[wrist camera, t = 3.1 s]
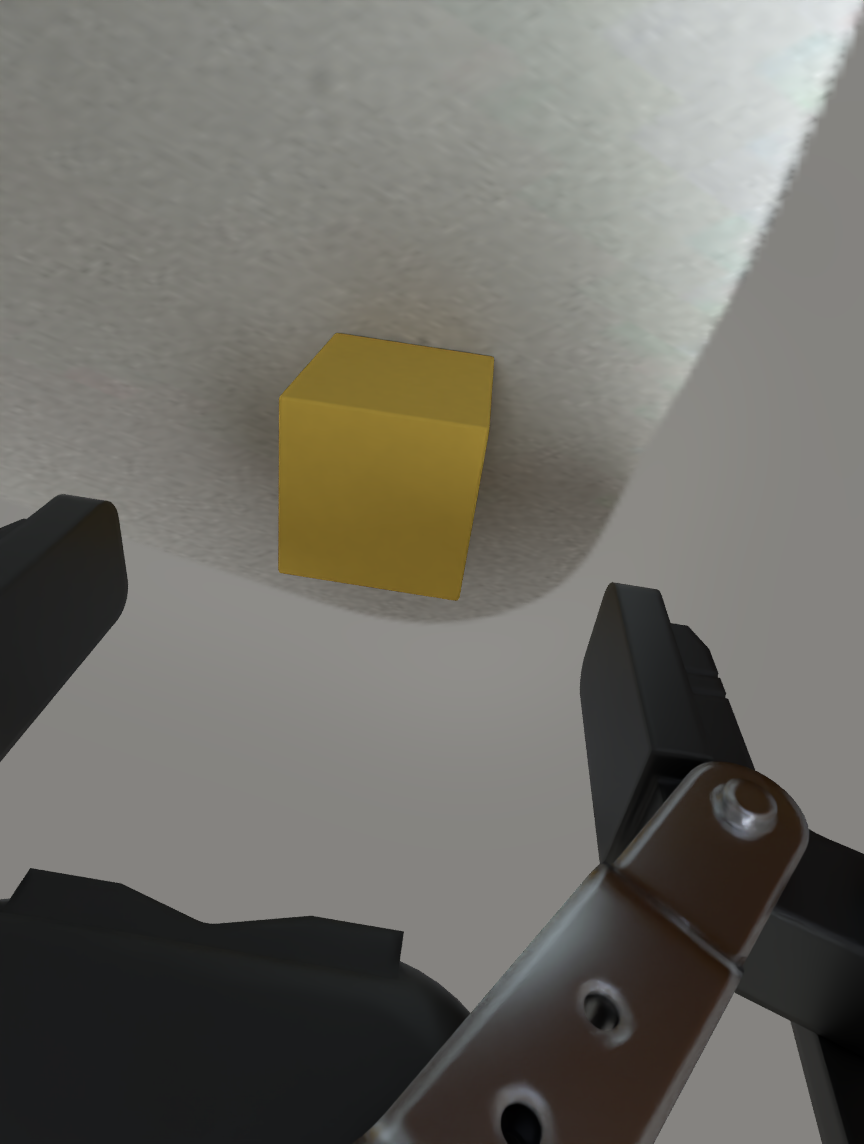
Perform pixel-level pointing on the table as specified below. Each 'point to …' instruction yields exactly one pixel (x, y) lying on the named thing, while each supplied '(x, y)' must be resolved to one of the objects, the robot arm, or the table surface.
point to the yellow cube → (383, 464)
